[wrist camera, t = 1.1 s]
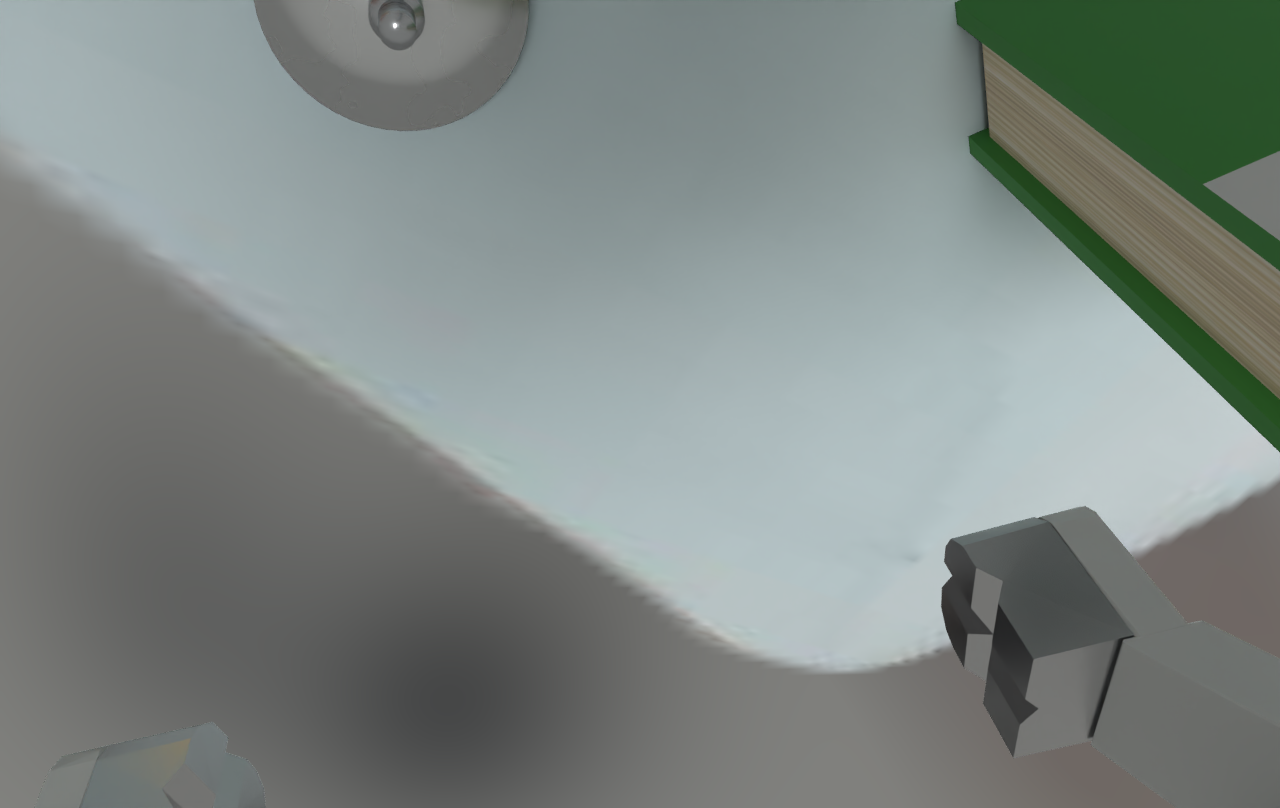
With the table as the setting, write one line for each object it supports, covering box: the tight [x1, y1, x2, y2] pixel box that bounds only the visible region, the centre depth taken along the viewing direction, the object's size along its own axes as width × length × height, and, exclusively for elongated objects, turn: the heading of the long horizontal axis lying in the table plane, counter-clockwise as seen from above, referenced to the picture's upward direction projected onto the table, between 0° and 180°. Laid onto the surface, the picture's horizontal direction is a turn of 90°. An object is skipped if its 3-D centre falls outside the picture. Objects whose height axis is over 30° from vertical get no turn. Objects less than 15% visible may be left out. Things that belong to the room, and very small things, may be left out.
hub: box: [254, 0, 529, 131], centre depth 29 cm, size 9×9×4 cm
